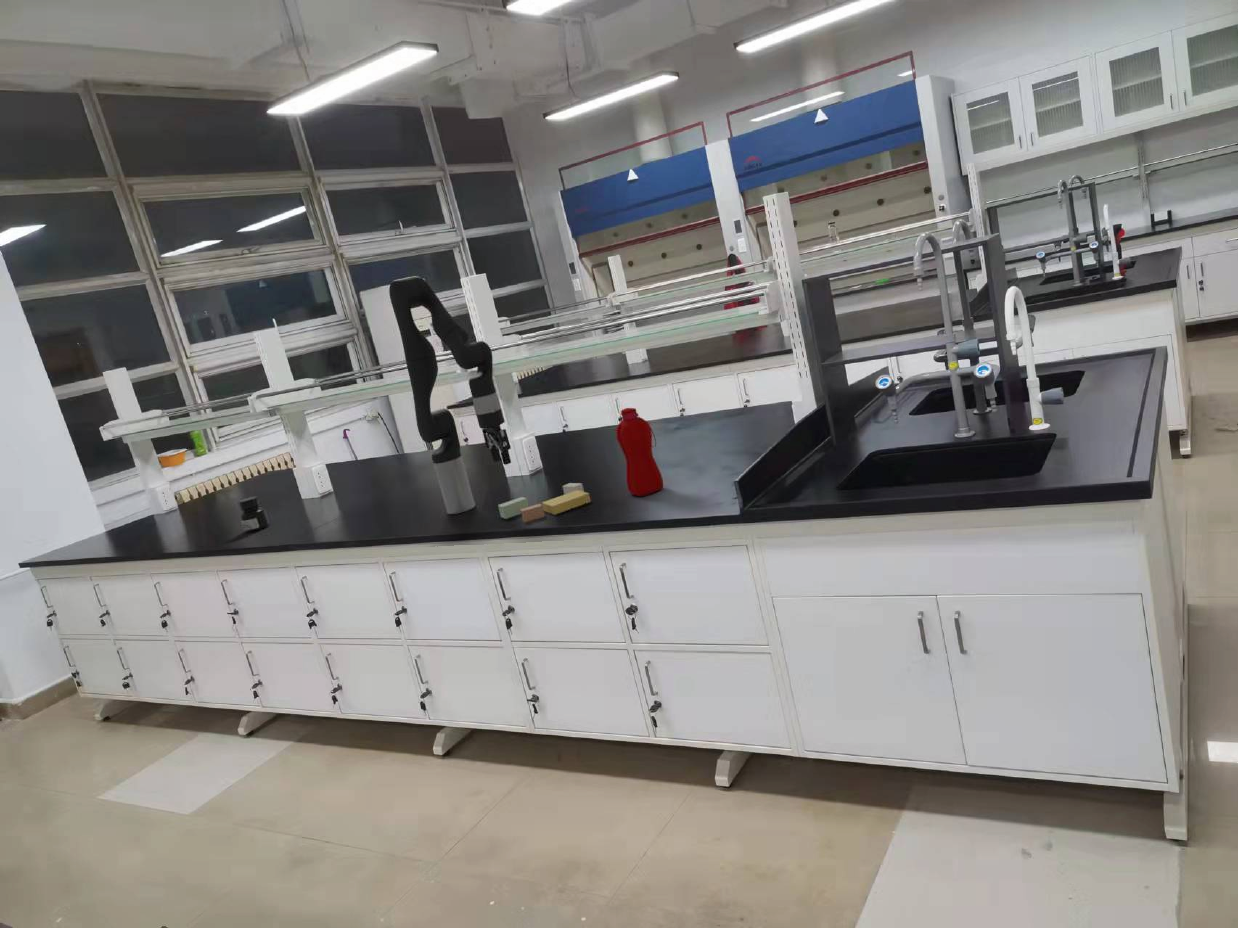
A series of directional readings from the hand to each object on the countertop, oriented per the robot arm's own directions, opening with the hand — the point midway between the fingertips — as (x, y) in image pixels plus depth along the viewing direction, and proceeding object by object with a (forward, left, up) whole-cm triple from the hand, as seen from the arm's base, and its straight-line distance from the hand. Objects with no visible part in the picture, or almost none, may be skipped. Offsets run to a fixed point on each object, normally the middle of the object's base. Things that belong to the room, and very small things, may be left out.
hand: (502, 462), depth 257 cm
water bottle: (+27, +32, -16) cm, 45 cm away
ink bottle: (-108, -64, -16) cm, 127 cm away
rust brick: (+12, +1, -16) cm, 20 cm away
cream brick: (+3, +19, -16) cm, 25 cm away
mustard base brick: (+12, +12, -17) cm, 24 cm away
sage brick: (0, 0, -16) cm, 16 cm away
